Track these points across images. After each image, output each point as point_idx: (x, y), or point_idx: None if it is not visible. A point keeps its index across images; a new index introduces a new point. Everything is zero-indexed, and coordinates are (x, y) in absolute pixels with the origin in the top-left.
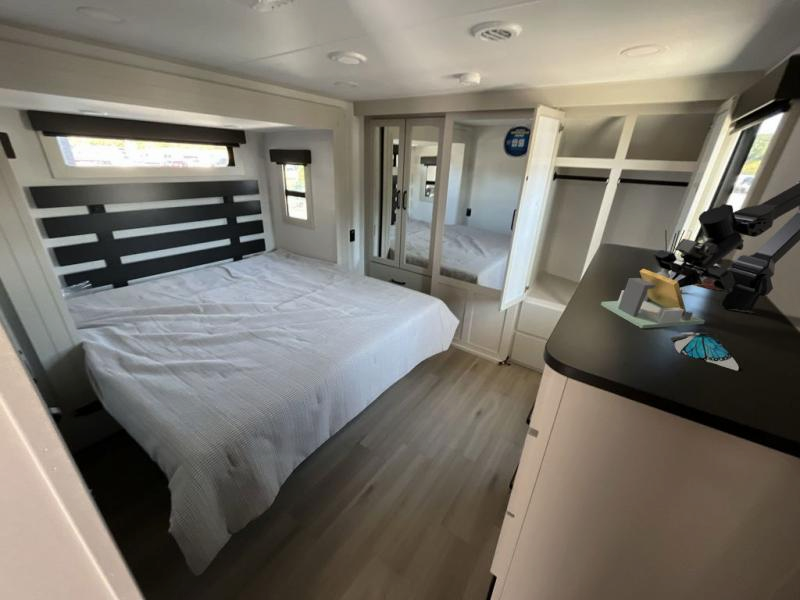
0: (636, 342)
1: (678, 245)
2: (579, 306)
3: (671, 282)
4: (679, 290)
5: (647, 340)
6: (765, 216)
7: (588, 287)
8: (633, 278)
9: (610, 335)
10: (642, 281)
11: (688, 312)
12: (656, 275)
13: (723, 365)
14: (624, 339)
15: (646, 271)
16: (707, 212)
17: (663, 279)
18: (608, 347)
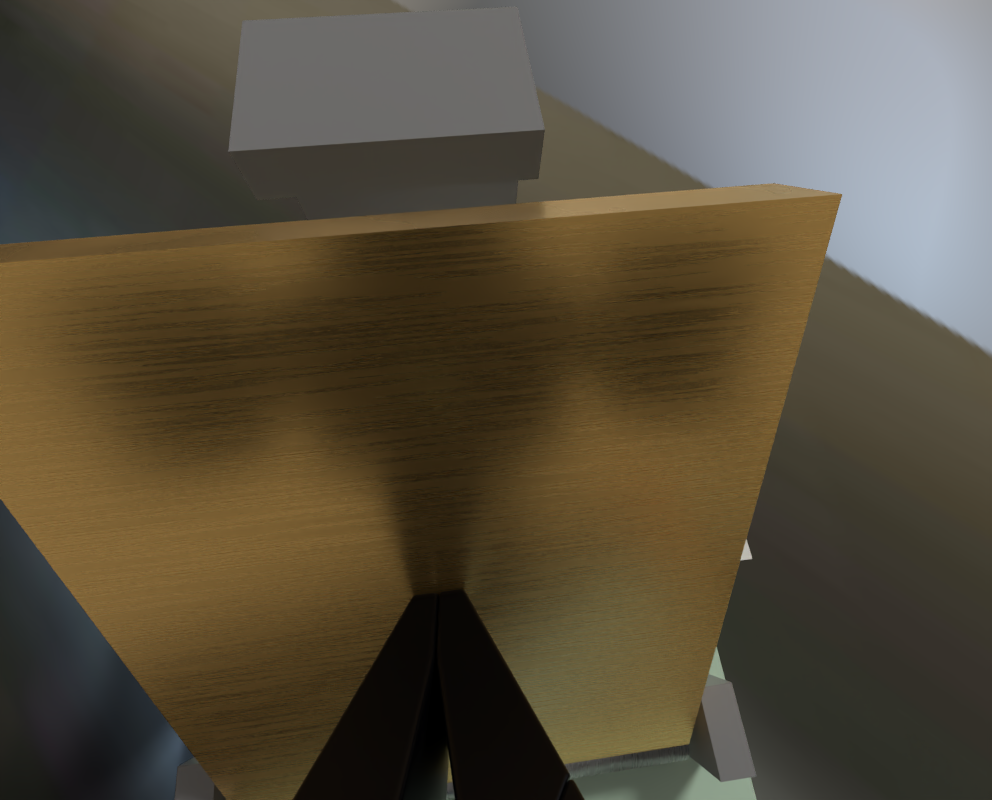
0: (125, 166)
1: None
2: (570, 135)
3: (5, 245)
4: (26, 506)
5: (122, 231)
6: None
7: (984, 383)
8: (513, 50)
9: (221, 98)
10: (381, 74)
11: (185, 795)
12: (416, 220)
13: None
14: (168, 132)
15: (684, 196)
16: None
17: (213, 235)
18: (132, 36)
